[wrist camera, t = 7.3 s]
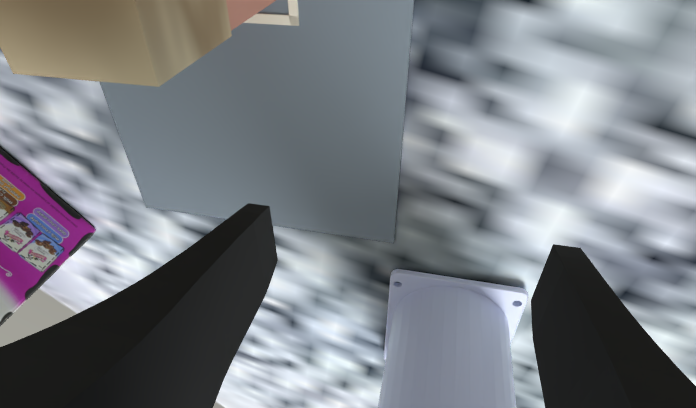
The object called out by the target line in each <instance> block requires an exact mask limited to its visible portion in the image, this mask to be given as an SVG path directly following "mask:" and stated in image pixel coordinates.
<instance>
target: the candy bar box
mask: <svg viewBox="0 0 696 408" xmlns="http://www.w3.org/2000/svg"><path fill="white" fill-rule="evenodd" d="M95 231H96V230H95V228H94V227H93V226H92V225H91V224H90V223H89V222H87V221H86V220H85V219H84V218H83V217H82V216H80V215H79V214H78V213H77V212H76V211H75V210H73V209H72V208H71V207H70V206H69V205H68V204H66V203H65V202H64V201H63V200H62V199H60V198H59V197H58V196H57V195H56V194H55V193H53V192H52V191H51V190H50V189H49V188H47V187H46V186H45V185H44V184H43V183H41V182H40V181H39V180H38V179H37V178H36V177H34V176H33V175H32V174H31V173H30V172H28V171H27V170H26V169H25V168H24V167H23V166H21V165H20V164H19V163H18V162H17V161H15V160H14V159H13V158H12V157H11V156H9V155H8V154H7V153H6V152H5V151H4V150H2V149H1V148H0V326H1V325H2V324H3V323H4V322H5V321H6V320H7V319H8V318H9V317H10V316H11V315H12V314H13V313H14V312H15V311H16V310H17V309H18V308H19V307H20V306H21V305H22V304H23V303H24V302H25V301H26V300H27V299H28V298H29V297H30V296H31V295H32V294H33V293H34V292H35V291H36V290H37V289H38V288H39V287H40V286H41V285H42V284H43V283H44V282H45V281H46V280H48V279H49V278H50V277H51V276H52V275H53V274H54V273H55V272H56V271H57V270H58V269H59V268H60V267H61V266H62V265H63V264H64V263H65V262H66V261H67V260H68V259H69V258H70V257H71V256H72V255H73V254H74V253H75V252H76V251H77V250H78V249H79V248H80V247H81V246H82V245H83V244H84V243H85V242H86V241H87V240H88V239H89V238H90V237H91V236H92V235H93V234H94V233H95Z"/></svg>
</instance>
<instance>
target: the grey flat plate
mask: <svg viewBox="0 0 696 408" xmlns="http://www.w3.org/2000/svg"><path fill="white" fill-rule="evenodd" d="M413 9H414V0H276V1H275V2H273V3H272V4H270V5H269V6H267V7H266V8H264V9H263V10H261V11H260V12H258V13H257V14H255V15H254V16H252V17H251V18H249V19H248V20H246V21H245V22H243V23H242V24H240V25H239V26H237V27H236V28H234V29H233V30H232V31H231V34H232V36H231V37H230V38H228V39H227V40H225V41H224V42H223V43H221V44H220V45H218V46H217V47H215V48H214V49H212V50H211V51H210V52H208V53H207V54H205V55H204V56H202V57H201V58H200V59H198V60H197V61H195V62H194V63H192V64H191V65H190V66H188V67H187V68H185V69H184V70H182V71H181V72H179V73H178V74H177V75H175V76H174V77H172V78H171V79H169V80H168V81H167V82H165V83H164V84H162V85H161V86H159V87H155V86H144V85H133V84H122V83H111V82H100V84H101V87H102V90H103V92H104V95H105V98H106V100H107V103H108V106H109V108H110V111H111V114H112V117H113V119H114V122H115V125H116V127H117V130H118V133H119V135H120V138H121V141H122V144H123V146H124V149H125V152H126V154H127V157H128V160H129V162H130V165H131V168H132V171H133V173H134V176H135V179H136V181H137V184H138V187H139V189H140V192H141V195H142V198H143V200H144V203H145V206H146V207H147V208H154V209H161V210H168V211H175V212H182V213H189V214H196V215H202V216H209V217H216V218H223V219H228V218H229V217H230V216H232V215H233V214H234V213H236V212H237V211H238V210H240V209H241V208H242V207H244V206H245V205H247V204H248V203H251V204H258V205H266V206H270V213H271V219H272V226H279V227H286V228H293V229H300V230H307V231H313V232H320V233H327V234H334V235H341V236H348V237H355V238H362V239H369V240H376V241H383V242H390V243H394V235H395V223H396V212H397V200H398V188H399V176H400V164H401V152H402V140H403V128H404V116H405V104H406V92H407V80H408V68H409V56H410V44H411V32H412V21H413Z"/></svg>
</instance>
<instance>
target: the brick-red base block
mask: <svg viewBox="0 0 696 408" xmlns="http://www.w3.org/2000/svg"><path fill="white" fill-rule="evenodd" d="M275 1H276V0H226V3H227V9H228V16H229V22H230V28H231V31H232V30H233V29H234V28H236V27H237V26H239V25H240V24H242V23H243V22H245V21H246V20H248V19H249V18H251V17H252V16H254V15H255V14H257V13H258V12H260V11H261V10H263V9H264V8H266V7H267V6H269V5H270V4H272V3H273V2H275Z"/></svg>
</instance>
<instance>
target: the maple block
mask: <svg viewBox="0 0 696 408" xmlns="http://www.w3.org/2000/svg"><path fill="white" fill-rule="evenodd" d="M231 36H232V34H231V28H230V22H229V16H228V9H227V3H226V0H0V47H1V49H2V52H3V54H4V56H5V58H6V60H7V62H8V64H9V66H10V68H11V70H12V72H13V74H23V75H34V76H45V77H56V78H67V79H78V80H89V81H100V82H111V83H122V84H133V85H144V86H155V87H159V86H161V85H162V84H164V83H165V82H167V81H168V80H169V79H171V78H172V77H174V76H175V75H177V74H178V73H179V72H181V71H182V70H184V69H185V68H187V67H188V66H190V65H191V64H192V63H194V62H195V61H197V60H198V59H200V58H201V57H202V56H204V55H205V54H207V53H208V52H210V51H211V50H212V49H214V48H215V47H217V46H218V45H220V44H221V43H223V42H224V41H225V40H227V39H228V38H230V37H231Z"/></svg>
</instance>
